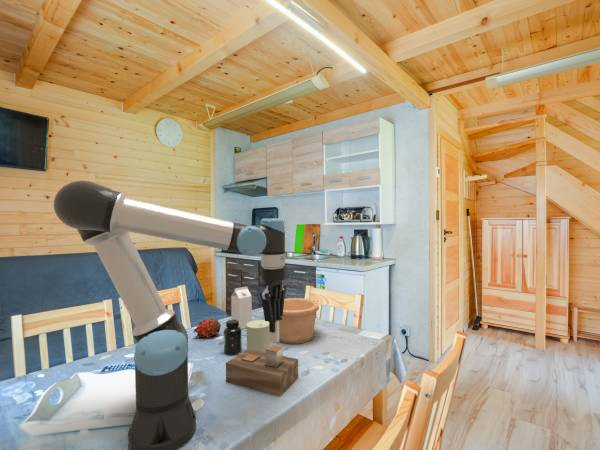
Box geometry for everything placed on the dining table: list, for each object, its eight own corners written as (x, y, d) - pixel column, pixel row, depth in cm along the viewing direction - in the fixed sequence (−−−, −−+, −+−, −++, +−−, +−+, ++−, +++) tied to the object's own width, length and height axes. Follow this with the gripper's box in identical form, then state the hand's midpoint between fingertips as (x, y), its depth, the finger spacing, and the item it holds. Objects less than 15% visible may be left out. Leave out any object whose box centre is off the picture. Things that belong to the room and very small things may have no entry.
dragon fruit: (223, 338, 141) (196, 346, 135) (218, 322, 146) (192, 330, 141) (223, 327, 135) (195, 335, 130) (218, 311, 141) (191, 319, 136)
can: (252, 360, 114) (251, 328, 114) (242, 351, 122) (242, 321, 122) (274, 354, 119) (274, 323, 119) (264, 346, 127) (263, 317, 127)
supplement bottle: (221, 355, 119) (221, 324, 119) (226, 348, 126) (226, 318, 126) (239, 355, 119) (239, 324, 118) (243, 348, 126) (242, 318, 125)
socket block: (280, 396, 91) (280, 376, 91) (225, 381, 100) (225, 362, 100) (298, 377, 102) (298, 359, 102) (247, 365, 111) (247, 348, 111)
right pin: (276, 369, 96) (276, 351, 96) (265, 366, 98) (265, 349, 98) (282, 363, 100) (282, 346, 100) (272, 361, 102) (272, 344, 102)
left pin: (252, 378, 100) (252, 361, 100) (242, 375, 102) (242, 359, 102) (259, 372, 104) (259, 356, 104) (249, 370, 106) (249, 354, 106)
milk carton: (231, 326, 151) (231, 287, 151) (244, 323, 156) (243, 285, 155) (239, 330, 146) (238, 289, 145) (252, 326, 151) (251, 287, 150)
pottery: (307, 325, 152) (307, 296, 151) (327, 342, 131) (327, 308, 131) (264, 331, 144) (263, 300, 144) (277, 350, 123) (277, 314, 123)
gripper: (273, 271, 91) (274, 351, 91) (293, 264, 103) (294, 335, 103) (251, 269, 94) (253, 346, 95) (273, 263, 106) (274, 332, 106)
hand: (274, 341), depth 99 cm, fingers closed
